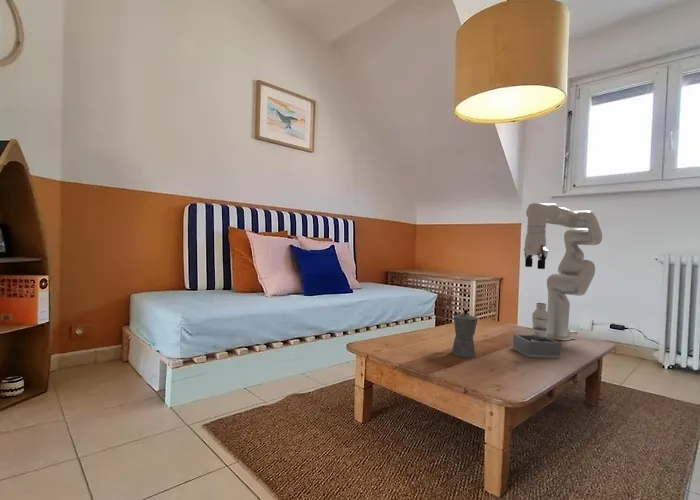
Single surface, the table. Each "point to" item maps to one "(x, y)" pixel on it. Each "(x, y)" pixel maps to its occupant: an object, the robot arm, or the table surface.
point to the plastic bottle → (540, 323)
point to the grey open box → (536, 347)
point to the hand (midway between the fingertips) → (534, 267)
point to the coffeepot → (464, 335)
